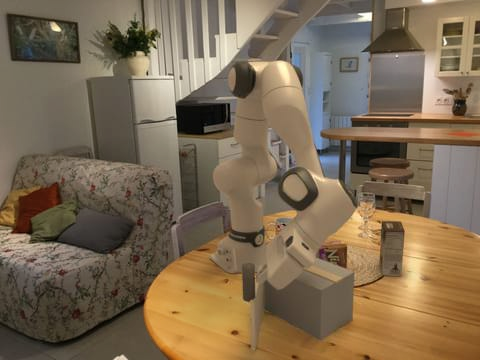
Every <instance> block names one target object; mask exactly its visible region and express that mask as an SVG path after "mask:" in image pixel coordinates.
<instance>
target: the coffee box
mask: <svg viewBox="0 0 480 360" xmlns="http://www.w3.org/2000/svg"><path fill="white" fill-rule="evenodd" d="M380 228H381V230H380V243H379V244H380V245H379V246H380V248H379V249H380V250H379V267H380V271H381V275H382V276H389V277H402V275H403V274H402V272H403V260H404V258H403V257H404V245H405V234H406V233H405V228H404V225H403V223H402V221H399V220H398V221H396V220H395V221H393V220H392V221H391V220H382V221H381V227H380Z"/></svg>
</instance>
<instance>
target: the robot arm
mask: <svg viewBox="0 0 480 360" xmlns="http://www.w3.org/2000/svg"><path fill="white" fill-rule="evenodd" d="M227 80H228V81H227V82H228V86H229V87H228V89H229V92H230V93H231V94H232V96H233V97H236V98H237V102H236V108H235V116H234V125H233V126H234V127H233V139H234V141H235V142H236V143H237V144H238V145H240V147H241V156H240V157H235V158H231V159H227V160H225V161H223V162H221V163H220V164H217V165H216V166H215V168H214V169H213V174H212V178H213V179H212V180H213V184H214V186H215V188H217V190H218V191H219V192H221V193H222V194H224V196H225V197H226V199H227V201H228V204H229V206H230V207H229V208H230V219H231V222H230V223H231V225H230V226H227V227H226V231H228V234H227V236H225V237H224V238H222V239H221V240H220V241H218V242H217V245H216V251H215V252H213V253H212V254H211V255H210V256H209V257H210V258H209V259H210V260H211V261H213V262H214V263H215V264H216V265H217V266H219V267H220V269H222V270H224V271H225V272H227V274H238V273H239V274H242V265H243V264H245V263H252V264H254V265H255V282H257V283H258V284H262V283H263V282H264V281H265V280H267V281H268V282H269V283H270V284H271V285H272V286H273V287H275V288H276V289H277V290H280V289H283V288H285V287H286V286H287V285H288V284H290V283H291V282H292V281H293V280H294V279H295V278H296V277H298V276H299V275H300V274H301V273H302V271H303V270H304V267H306V268H307V269H308V268H310V267H311V266H312V265H313V264H314V260H315V257H316V253H317V251H318V249H319V248H320V247H321V246H322V245H323V244H324V243H325V242H327V240H328V238H329V237H331V236H332V235H334V234H336V233H337V232H338V231H339V230H340V229H342V227H343V226H345V224H346V223H347V222H348V221H349V219H351V218H352V216H353V215H354V214H355V213H356V211H357V209H358V201H357V198H356V196H355V194H354V192H353V191H352V189H350V188H349V186H348V185H347V184H346V182H344V181H343V180H341V179H332V178H329V177H326V176H325V173H324V170H323V166H322V163H321V159H320V155H319V152H318V150H317V146H316V143H315V140H314V135H313V131H312V127H311V123H310V119H309V114H308V109H307V104H306V99H305V95H304V91H303V87H304V86H303V85H304V75H303V71H302V70H301V68H300V67H299V66H297V65H295V64H291V63H289V62H287V61H285V60H275V61H268V60H267V61H247V60H242V61H238V62H237V61H236V62H235V63H234V64H233V65H232V66H231V68H230V71H229V73H228V78H227ZM269 127H270V128H269ZM269 129H271V130H273V132H274V133H275V134H276V135H277V136H278V137H279V138H280V139H281V141H283V143H284V144H285V145H286V146H287V147H288V150H289V151H290V152H291V154H292V157H293V159H294V163H295V167H292V168H289V169H288V170H286V171H285V172H284V173H283V175H282V176H281V177H280V179H279V182H278V184H277V185H278V186H277V192H278V196H279V197H280V198H281V200H282V202H283V203H284V204H286V205H287V206H289V207H290V208H292V209H293V210H294V211H295V212H296V215H295V216H294V217H293V218H292V219H291V220H290V221H289V222H288V223H287V224H286V225H284V227H283V228H282V229H281V230H280V232H278V234H276V235H275V236H274V237H273V238H271V240H269V241H268V243H267V244H266V238H265V237H266V229H265V227H266V226H265V225H264V207H263V204H262V202H261V201H259V199H256V198H255V195H254V192H253V191H254V190H253V189H254V188H255V187H259V186H262V185H265V184H266V183H268V182H270V181H271V180H273V179H274V178H275V177H276V175H277V173H278V165H277V161H276V160H275V158H274V157H273V156H272V155H271V153H270V149H269V145H268V143H269V142H268V138H269ZM260 266H262V267H261V269H260V270H259V268H260Z"/></svg>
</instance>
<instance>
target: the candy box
mask: <svg viewBox="0 0 480 360" xmlns="http://www.w3.org/2000/svg"><path fill="white" fill-rule="evenodd" d="M315 257H316V258H319V259H321V260H324V261H327V262H329V263H332V264H335V265H337V266H340V267H343V268H345V269H348V244H347V243H346V242H345V240H335V241H334V240H333V241H325V243H324V244H323V245H322V246H321V247H320V248H319V249H318V251H317V253H316V256H315Z"/></svg>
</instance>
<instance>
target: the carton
mask: <svg viewBox="0 0 480 360" xmlns="http://www.w3.org/2000/svg"><path fill="white" fill-rule="evenodd" d="M354 289H355V271H353V270H351V269H348V268H347V269H345V268H343V267H340V266H337V265H335V264H332V263H329V262H327V261H324V260H321V259H319V258H316V256H315V260H314V264H313V265H312V266H311V267H310V268H308V269H307V268H306V267H304V270H303V271H302V273H301V274H300V275H299V276H298V277H296V278H295V279H294V280H293V281H292V282H291V283H290V284H288V285H287V286H286V287H285V288H283V289H280V290H277V289H276V288H275V287H273V286H272V285H271V284H270V283H269V282H268V281H267V280H265V281H264V311H265V312H266V313H269V314H270V315H272V316H275V317H276V318H278V319H279V320H282V321H283V322H285V323H287V324H289V325H291V326H293V327H294V328H296V329H298V330H300V331H302V332H304V333H305V334H307V335H308V336H311V337H312V338H314V339H316V340H318V341H320V342H321V341H322V340H324V339H326V338H327V337H328V336H330V335H331V334H333V333H334V332H336V331H337V330H339V329H340V328H342V327H343V326H345V325H346V324H348V323H349V322H350V321H352V320H353V318H354V317H353V316H354V315H353V314H354V295H355V294H354V291H355V290H354Z"/></svg>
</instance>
